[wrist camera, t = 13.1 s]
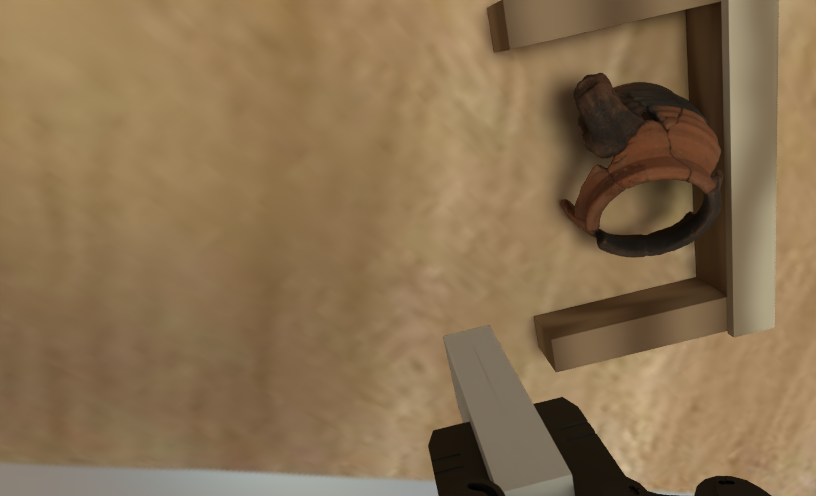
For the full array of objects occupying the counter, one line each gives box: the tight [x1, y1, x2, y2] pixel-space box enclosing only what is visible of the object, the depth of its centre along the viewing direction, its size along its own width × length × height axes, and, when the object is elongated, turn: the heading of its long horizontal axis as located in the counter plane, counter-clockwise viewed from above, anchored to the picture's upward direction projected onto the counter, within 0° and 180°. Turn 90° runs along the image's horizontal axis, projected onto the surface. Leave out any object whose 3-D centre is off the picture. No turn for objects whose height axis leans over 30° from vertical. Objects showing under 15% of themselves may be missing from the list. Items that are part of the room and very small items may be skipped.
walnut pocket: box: [487, 0, 779, 372], centre depth 33 cm, size 15×23×4 cm, turn 12°
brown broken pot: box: [562, 73, 723, 257], centre depth 32 cm, size 12×10×8 cm
